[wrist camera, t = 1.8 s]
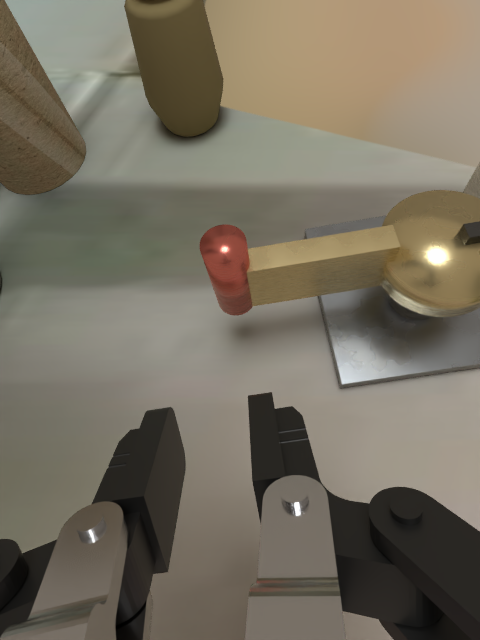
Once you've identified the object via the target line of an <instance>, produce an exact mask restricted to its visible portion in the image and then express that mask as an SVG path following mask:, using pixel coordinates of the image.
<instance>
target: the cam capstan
mask: <svg viewBox="0 0 480 640" xmlns="http://www.w3.org/2000/svg"><path fill="white" fill-rule="evenodd" d="M200 251H201V254H202V257H203V260H204V263H205V266H206V268H207V271H208V274H209V277H210V280H211V283H212V286H213V289H214V291H215V294H216V297H217V300H218V303H219V306H220V308H221V309H222V310H223V311H224V312H225V313H227V314H230V315H242V314H244V313H246V312H248V311H249V310H250V309H251V308H252V307H253V306H258V305H264V304H270V303H276V302H283V301H289V300H295V299H301V298H308V297H314V296H320V295H326V294H333V293H339V292H345V291H352V290H358V289H364V288H370V287H377V286H382V288H383V289H384V290H385V292H386V293H387V294H388V295H389V296H390V297H391V298H392V299H394V300H395V301H396V302H397V303H399V304H401V305H402V306H404V307H406V308H408V309H410V310H412V311H414V312H417V313H420V314H424V315H428V316H434V317H454V316H459V315H464V314H467V313H470V312H472V311H474V310H476V309H478V308H479V307H480V199H479V198H477V197H474V196H472V195H469V194H465V193H461V192H456V191H447V190H434V191H427V192H422V193H418V194H415V195H412V196H410V197H408V198H406V199H404V200H403V201H401V202H399V203H398V204H397V205H396V206H395V207H393V208H392V210H391V211H390V212H389V213H388V215H387V216H386V218H385V220H384V222H383V224H382V227H376V228H370V229H364V230H358V231H352V232H346V233H340V234H334V235H328V236H322V237H316V238H310V239H304V240H298V241H292V242H286V243H280V244H274V245H268V246H262V247H256V248H250V249H248V248H247V242H246V237H245V235H244V233H243V232H242V231H241V230H240V229H239V228H237V227H235V226H232V225H219V226H215V227H213V228H211V229H209V230H208V231H207V232H206V233H205V234H204V235H203V237H202V239H201V241H200Z"/></svg>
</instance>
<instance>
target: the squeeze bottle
mask: <svg viewBox="0 0 480 640" xmlns="http://www.w3.org/2000/svg"><path fill="white" fill-rule="evenodd" d="M124 7H125V11H126V15H127V19H128V24H129V28H130V32H131V36H132V40H133V44H134V49H135V53H136V57H137V61H138V65H139V69H140V74H141V78H142V82H143V86H144V90H145V95H146V98H147V100H148V102H149V105H150V106H151V108H152V109H153V110H154V112H155V113H156V114H157V115H158V117H159V118H160V119H161V120H162V122H163V123H164V124H165V126H166V127H167V128H168V129H169V130H170V131H171V132H173V133H174V134H176V135H180V136H184V137H186V136H196V135H199V134H201V133H204V132H206V131H207V130H209V129H210V128H211V127H213V125H214V124H215V122H216V121H217V119H218V114H219V108H220V102H221V96H222V91H223V76H222V73H221V69H220V65H219V61H218V57H217V53H216V49H215V45H214V42H213V38H212V34H211V30H210V27H209V22H208V19H207V15H206V11H205V7H204V3H203V0H126V1H125V6H124Z"/></svg>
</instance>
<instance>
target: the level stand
mask: <svg viewBox="0 0 480 640" xmlns="http://www.w3.org/2000/svg"><path fill="white" fill-rule="evenodd" d="M463 193H465V194H469V195H472V196H474V197H477V198H479V199H480V163H479V164H478V166H477V168H476V170H475V171H474V173H473V175H472V177H471V179H470V180H469V182H468V184H467V186H466V187H465V189H464V191H463ZM385 218H386V216H381V217H375V218H369V219H363V220H357V221H351V222H345V223H339V224H333V225H327V226H321V227H315V228H310V229H305V239H310V238H316V237H322V236H328V235H334V234H340V233H346V232H352V231H358V230H364V229H370V228H376V227H382V224H383V222H384V220H385ZM318 297H319V301H320V305H321V310H322V314H323V318H324V322H325V327H326V331H327V335H328V339H329V344H330V348H331V352H332V356H333V361H334V365H335V369H336V373H337V378H338V382H339V386H340V388H346V387H353V386H360V385H367V384H373V383H380V382H387V381H394V380H400V379H407V378H414V377H421V376H427V375H434V374H441V373H448V372H454V371H461V370H468V369H475V368H480V307H479V308H478V309H476V310H474V311H472V312H470V313H467V314H464V315H459V316H454V317H434V316H428V315H424V314H420V313H417V312H414V311H412V310H410V309H408V308H406V307H404V306H402V305H401V304H399V303H397V302H396V301H395V300H394V299H392V298H391V297H390V296H389V295H388V294H387V293H386V292H385V290H384V289H383V288H382V286H377V287H370V288H364V289H358V290H352V291H345V292H339V293H333V294H326V295H320V296H318Z"/></svg>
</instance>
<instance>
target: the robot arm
mask: <svg viewBox="0 0 480 640" xmlns="http://www.w3.org/2000/svg"><path fill="white" fill-rule="evenodd" d="M0 288H1V276H0ZM248 406H249V424H250V443H251V462H252V480H253V486H254V491H255V496H256V502H257V507H258V512H259V517H260V522H261V532H260V546H259V560H258V575H257V582H256V584H252V585H251V587H250V591H249V598H248V608H247V620H246V631H245V640H346V636H345V628H344V620H343V612H342V611H346V612H350V613H354V614H359V615H363V616H367V617H372V618H376V619H379V621H380V622H381V624H382V626H383V627H384V628H385V630H386V631H387V632H388V633H389V634H390V636H391V637H392V638H393V639H394V640H480V532H479V531H478V530H477V529H475V528H474V527H472V526H471V525H470V524H468V523H467V522H465V521H464V520H463V519H461V518H460V517H458V516H457V515H456V514H454V513H453V512H451V511H450V510H448V509H447V508H446V507H444V506H443V505H441V504H440V503H439V502H437V501H436V500H434V499H433V498H432V497H430V496H428V495H427V494H425V493H423V492H421V491H418V490H415V489H412V488H407V487H392V488H388V489H384V490H382V491H380V492H379V493H377V494H376V495H375V496H374V497H373V498H372V500H371V502H370V504H368V503H361V502H354V501H348V500H345V499H342V498H339V497H337V496H335V495H334V494H332V493H330V492H329V491H328V490H327V489H326V488H325V487H324V486H323V484H322V483H321V481H320V478H319V475H318V471H317V467H316V464H315V460H314V457H313V453H312V449H311V446H310V442H309V439H308V435H307V431H306V427H305V424H304V420H303V417H302V415H301V414H300V413H299V412H298V411H297V410H296V409H295V408H294V407H292V406H291V407H285V408H278V409H275V408H274V402H273V396H272V392H270V393H263V394H257V395H250V396H248ZM185 466H186V463H185V453H184V448H183V444H182V440H181V436H180V432H179V428H178V425H177V421H176V417H175V413H174V410H173V409H172V408H171V407H169V408H162V409H155V410H149V411H146V413H145V415H144V418H143V420H142V423H141V426H140V428H139V429H134V430H130V431H129V432H128V433H127V434H126V435H125V436H124V437H123V438H122V439H121V440H120V441H119V443H118V445H117V448H116V450H115V452H114V454H113V457H112V459H111V461H110V464H109V468H107V470H106V473H105V475H104V477H103V479H102V482H101V484H100V486H99V489H98V491H97V493H96V495H95V498H94V500H93V502H92V504H91V505H89V506H87V507H85V508H83V509H81V510H80V511H78V512H77V513H75V514H74V515H73V516H72V517H71V518H70V519H69V520H68V521H67V522H66V523H65V524H64V526H63V528H62V529H61V531H60V534H59V536H58V539H57V540H55V541H53V542H50V543H48V544H45V545H43V546H40V547H38V548H35V549H33V550H30V551H28V552H25V553H22V552H21V550H20V548H19V546H18V544H17V543H16V542H15V541H13V540H10V539H0V640H150V633H151V621H152V608H153V599H152V595H151V592H150V586H151V581H152V576H153V574H156V573H164V572H168V568H169V562H170V557H171V551H172V545H173V539H174V533H175V528H176V522H177V516H178V510H179V504H180V498H181V493H182V487H183V481H184V475H185Z"/></svg>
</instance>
